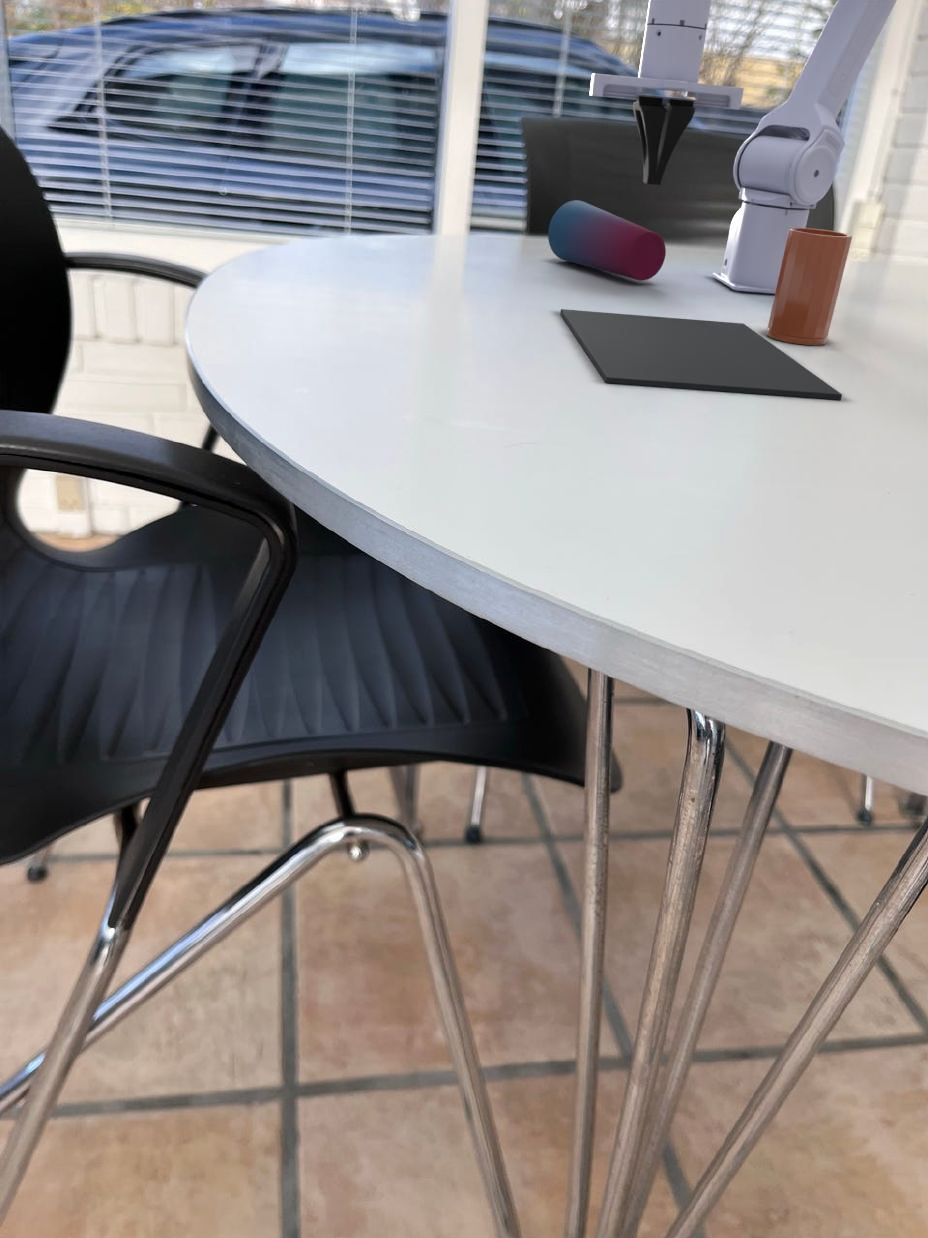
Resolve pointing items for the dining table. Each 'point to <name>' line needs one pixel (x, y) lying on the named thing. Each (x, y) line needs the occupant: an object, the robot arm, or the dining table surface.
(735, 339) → the mat
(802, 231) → the small cup
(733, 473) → the dining table surface
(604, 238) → the cup
